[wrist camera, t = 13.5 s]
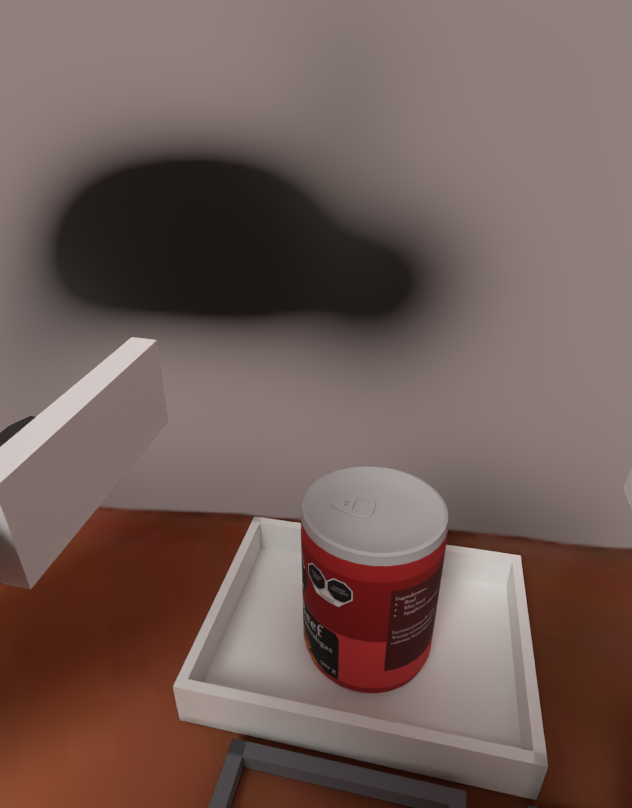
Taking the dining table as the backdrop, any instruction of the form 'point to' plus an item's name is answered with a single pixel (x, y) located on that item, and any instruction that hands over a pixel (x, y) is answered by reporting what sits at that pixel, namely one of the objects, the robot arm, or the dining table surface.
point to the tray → (375, 712)
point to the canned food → (371, 575)
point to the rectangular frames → (329, 778)
